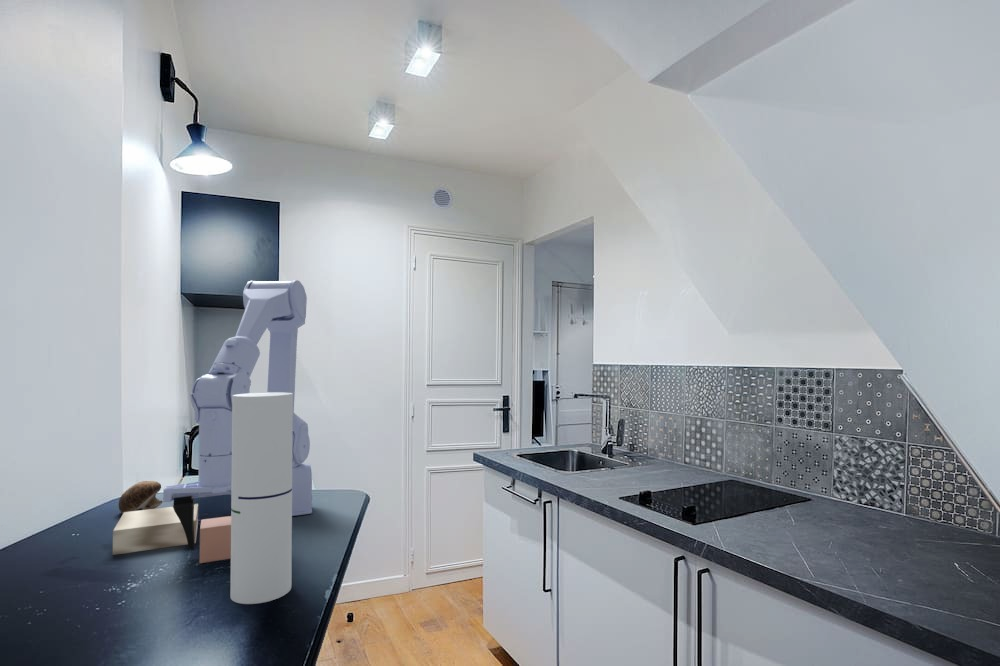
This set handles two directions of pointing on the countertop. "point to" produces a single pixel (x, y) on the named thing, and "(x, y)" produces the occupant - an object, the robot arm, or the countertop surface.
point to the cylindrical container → (261, 497)
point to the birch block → (150, 530)
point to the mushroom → (140, 497)
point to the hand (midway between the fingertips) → (219, 543)
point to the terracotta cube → (215, 539)
